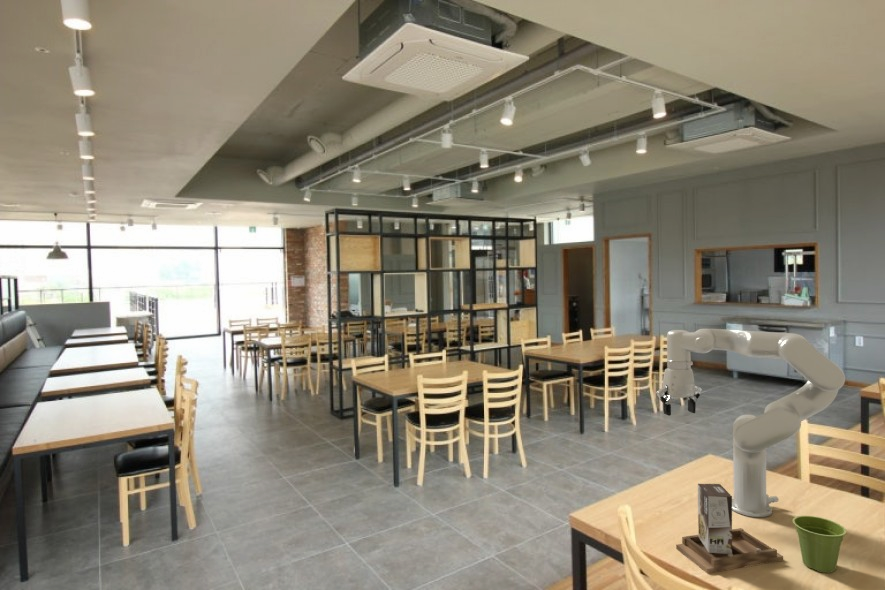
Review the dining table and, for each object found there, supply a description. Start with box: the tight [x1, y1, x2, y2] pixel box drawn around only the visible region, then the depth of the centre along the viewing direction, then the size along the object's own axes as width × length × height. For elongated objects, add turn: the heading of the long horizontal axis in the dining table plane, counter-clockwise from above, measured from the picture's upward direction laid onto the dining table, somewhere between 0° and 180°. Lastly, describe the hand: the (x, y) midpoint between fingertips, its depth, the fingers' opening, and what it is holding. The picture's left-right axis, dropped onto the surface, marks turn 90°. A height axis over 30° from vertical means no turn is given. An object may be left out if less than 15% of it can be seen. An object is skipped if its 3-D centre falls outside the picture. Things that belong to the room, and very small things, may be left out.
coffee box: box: [697, 483, 733, 554], centre depth 148 cm, size 9×6×16 cm
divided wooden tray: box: [675, 527, 784, 574], centre depth 149 cm, size 24×13×4 cm, turn 102°
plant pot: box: [792, 515, 847, 573], centre depth 142 cm, size 12×12×11 cm
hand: (679, 413), depth 186 cm, fingers open, 9 cm apart
